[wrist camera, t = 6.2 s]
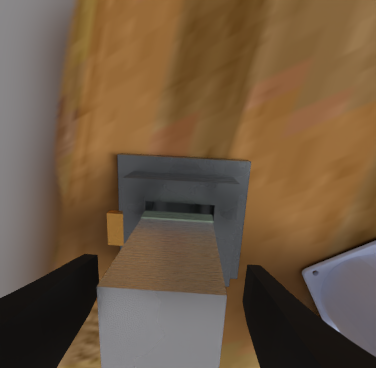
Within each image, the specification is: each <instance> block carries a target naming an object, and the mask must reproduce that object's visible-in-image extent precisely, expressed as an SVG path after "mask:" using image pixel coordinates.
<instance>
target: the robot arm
mask: <svg viewBox="0 0 376 368" xmlns="http://www.w3.org/2000/svg"><path fill="white" fill-rule="evenodd" d="M315 270H316V272H314V273H313V271H315ZM302 275H303V278H304V280H305V282H306V284H307V287H308V289H309V291H310V293H311V296H312V298H313V300H314V302H315V305H316V307H317V309H318V311H319V313H320V316H321V318H322V319H321V318H319V317H318V316H317V315H316V314H314V313H313V312H312V311H311V310H310V309H308V308H307V307H306V306H305V305H303V304H302V303H301V302H300V301H299V300H298V299H296V298H295V297H294V296H293V295H292V294H291V293H290V292H289V291H288V290H286V289H285V288H284V287H283V286H282V285H281V284H280V283H279V282H278V281H277V280H276V279H275V278H273V277H272V276H271V275H270V274H269V273H268V272H267V271H266V270H265V269H264V268H263V267H262V266H260V265H247V271H246V279H245V287H244V294H243V306H244V312H245V317H246V322H247V326H248V329H249V333H250V336H251V339H252V342H253V346H254V349H255V352H256V355H257V358H258V362H259V365H260V368H376V241H373V242H370V243H368V244H365V245H363V246H360V247H358V248H355V249H353V250H350V251H348V252H345V253H343V254H340V255H338V256H335V257H333V258H330V259H328V260H325V261H323V262H320V263H318V264H315V265H312V266H310V267H307V268H305V269H304V270H303V271H302ZM98 284H99V274H98V256H97V255H91V254H84V255H82V256H80V257H78V258H76V259H74V260H72V261H70V262H69V263H67V264H65V265H63V266H61V267H60V268H58V269H56V270H54V271H52V272H51V273H49V274H47V275H45V276H43V277H41V278H40V279H38V280H36V281H34V282H32V283H30V284H28V285H26V286H24V287H22V288H20V289H18V290H16V291H14V292H12V293H11V294H8V295H6V296H4V297H2V298H0V368H57V366H58V364H59V363H60V361H61V360H62V358H63V356H64V355H65V353H66V351H67V350H68V348H69V346H70V345H71V343H72V341H73V340H74V338H75V337H76V335H77V333H78V332H79V330H80V328H81V327H82V325H83V323H84V322H85V320H86V318H87V317H88V315H89V313H90V311H91V309H92V307H93V305H94V303H95V300H96V298H97V285H98Z"/></svg>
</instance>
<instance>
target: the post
mask: <svg viewBox="0 0 376 368" xmlns="http://www.w3.org/2000/svg"><path fill="white" fill-rule="evenodd" d="M226 300H227V293H226V288H225V283H224V278H223V273H222V268H221V263H220V258H219V253H218V248H217V242H216V237H215V232H214V227H213V217H212V215H210V214H193V213H176V212H160V211H144V213H143V214H142V216H141V220H140V221H139V223H138V224H137V226H136V227H135V229H134V230H133V232H132V233H131V235H130V236H129V238H128V239H127V241H126V243H125V244H124V246H123V247H122V249H121V250H120V252H119V253H118V255H117V256H116V258H115V259H114V261H113V262H112V264H111V265H110V267H109V268H108V270H107V272H106V273H105V275H104V276H103V278H102V279H101V281H100V282H99V284H98V285H97V301H98V318H99V335H100V352H101V368H219V364H220V355H221V346H222V337H223V327H224V318H225V309H226Z"/></svg>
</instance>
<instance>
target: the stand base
mask: <svg viewBox="0 0 376 368" xmlns="http://www.w3.org/2000/svg"><path fill="white" fill-rule="evenodd" d="M117 156H118V192H119V211H117V210H110V211H109V212H107V232H108V245H118V246H120V250H121V249H122V247H123V246H124V244H125V243H126V241H127V239H128V238H129V236H130V235H131V233H132V232H133V230H134V229H135V227H136V226H137V224H138V223H139V221H140V220H141V216H142V214H143V213H144V211H160V212H176V213H193V214H210V215H212V217H213V227H214V232H215V237H216V242H217V248H218V253H219V258H220V263H221V268H222V273H223V278H224V283H225V286H227V287H229V281H230V278H231V279H237V275H238V267H239V259H240V250H241V242H242V234H243V225H244V217H245V209H246V200H247V192H248V184H249V175H250V167H251V161H248V160H235V159H216V158H198V157H179V156H161V155H142V154H123V153H122V154H118V155H117Z"/></svg>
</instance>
